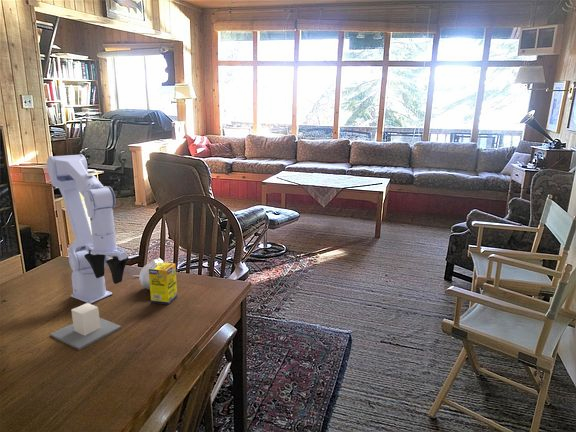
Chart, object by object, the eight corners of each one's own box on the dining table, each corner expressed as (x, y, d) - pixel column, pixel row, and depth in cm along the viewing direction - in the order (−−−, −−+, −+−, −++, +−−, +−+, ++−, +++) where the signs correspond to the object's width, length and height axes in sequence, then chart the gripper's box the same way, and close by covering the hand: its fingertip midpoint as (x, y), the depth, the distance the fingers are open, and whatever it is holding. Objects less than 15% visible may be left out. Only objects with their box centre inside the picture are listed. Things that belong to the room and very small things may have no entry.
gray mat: (50, 336, 106) (50, 333, 106) (92, 316, 116) (92, 314, 116) (79, 350, 101) (79, 347, 100) (121, 328, 111) (121, 326, 110)
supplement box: (169, 305, 124) (166, 270, 121) (150, 302, 125) (147, 268, 122) (178, 296, 129) (176, 263, 126) (160, 294, 130) (157, 261, 128)
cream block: (74, 330, 108) (71, 309, 106) (90, 323, 112) (87, 302, 110) (84, 335, 106) (81, 314, 104) (100, 328, 109) (98, 307, 108)
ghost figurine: (169, 294, 131) (167, 264, 128) (138, 295, 129) (135, 265, 127) (172, 282, 139) (170, 254, 137) (143, 283, 138) (140, 255, 135)
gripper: (73, 232, 112) (79, 279, 116) (108, 240, 105) (113, 290, 108) (96, 226, 118) (101, 271, 121) (131, 233, 111) (135, 281, 114)
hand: (108, 279), depth 115 cm, fingers open, 7 cm apart
